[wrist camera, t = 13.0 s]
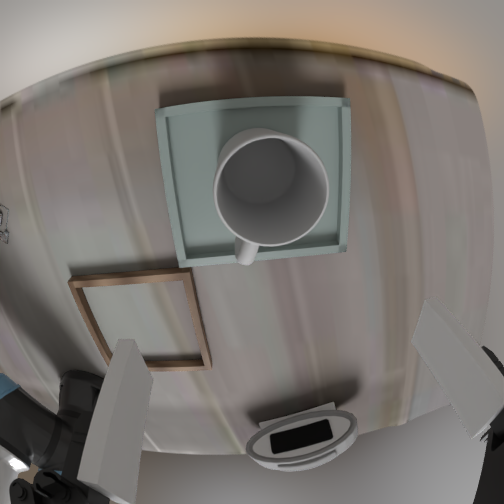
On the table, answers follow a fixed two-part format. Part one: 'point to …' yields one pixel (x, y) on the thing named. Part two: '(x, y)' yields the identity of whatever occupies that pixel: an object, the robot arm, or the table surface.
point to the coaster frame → (137, 278)
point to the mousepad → (5, 235)
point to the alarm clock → (303, 438)
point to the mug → (268, 190)
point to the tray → (206, 158)
